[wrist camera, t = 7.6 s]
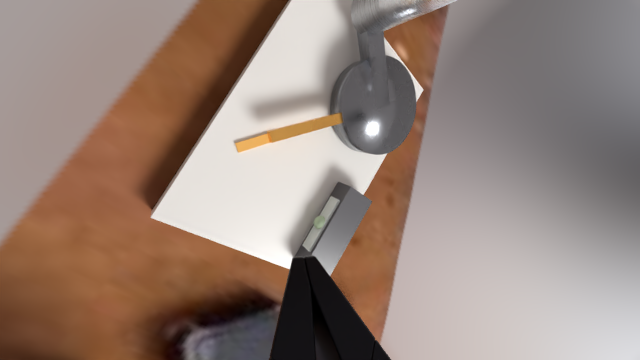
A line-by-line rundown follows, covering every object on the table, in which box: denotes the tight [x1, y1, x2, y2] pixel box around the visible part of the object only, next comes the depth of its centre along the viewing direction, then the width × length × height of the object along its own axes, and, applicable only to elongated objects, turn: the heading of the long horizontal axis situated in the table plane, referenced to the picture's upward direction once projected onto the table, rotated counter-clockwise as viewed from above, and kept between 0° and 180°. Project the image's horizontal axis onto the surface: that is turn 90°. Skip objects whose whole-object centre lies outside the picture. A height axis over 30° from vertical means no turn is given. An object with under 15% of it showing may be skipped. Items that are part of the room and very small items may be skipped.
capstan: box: [267, 0, 457, 155], centre depth 16 cm, size 14×12×11 cm
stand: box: [151, 0, 423, 275], centre depth 21 cm, size 22×15×4 cm
